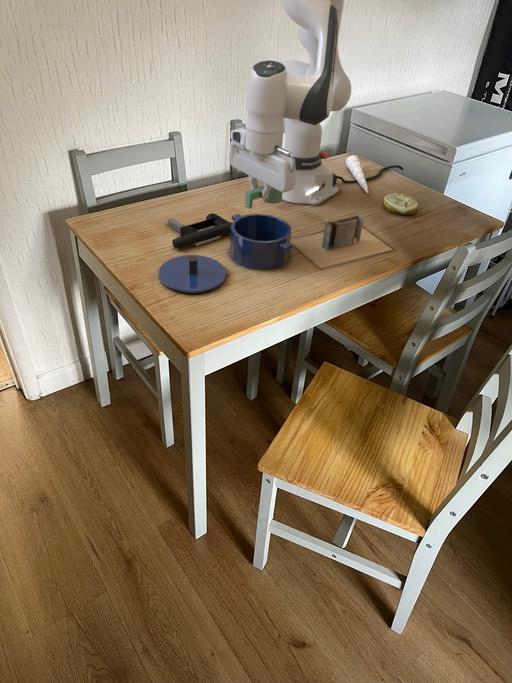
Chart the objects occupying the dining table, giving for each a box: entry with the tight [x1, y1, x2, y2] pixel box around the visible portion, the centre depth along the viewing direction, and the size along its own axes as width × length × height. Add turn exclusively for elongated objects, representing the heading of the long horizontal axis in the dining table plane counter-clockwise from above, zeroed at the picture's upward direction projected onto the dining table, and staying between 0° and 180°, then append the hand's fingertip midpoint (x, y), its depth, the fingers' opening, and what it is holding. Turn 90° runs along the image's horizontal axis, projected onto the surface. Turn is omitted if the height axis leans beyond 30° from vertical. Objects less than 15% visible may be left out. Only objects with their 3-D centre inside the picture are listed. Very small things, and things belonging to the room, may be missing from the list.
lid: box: [158, 254, 227, 294], centre depth 134 cm, size 17×17×5 cm
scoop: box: [244, 185, 283, 210], centre depth 135 cm, size 11×5×4 cm, turn 132°
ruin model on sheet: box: [290, 214, 393, 269], centre depth 150 cm, size 25×16×10 cm, turn 120°
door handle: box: [167, 212, 233, 250], centre depth 152 cm, size 3×20×16 cm
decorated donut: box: [382, 192, 419, 216], centre depth 172 cm, size 10×11×4 cm
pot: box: [229, 213, 294, 271], centre depth 144 cm, size 16×21×8 cm
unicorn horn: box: [345, 154, 369, 194], centre depth 188 cm, size 5×24×5 cm, turn 3°
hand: (259, 195), depth 134 cm, fingers closed on scoop, 2 cm apart
